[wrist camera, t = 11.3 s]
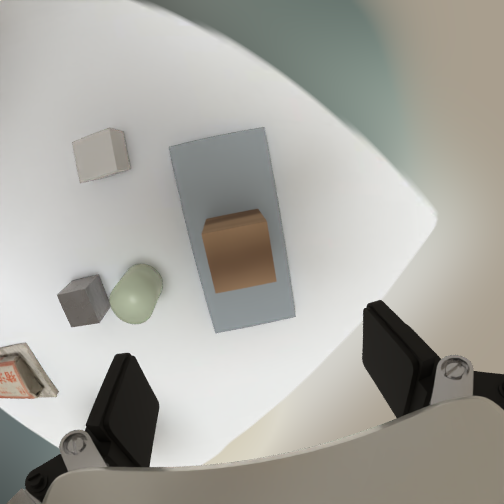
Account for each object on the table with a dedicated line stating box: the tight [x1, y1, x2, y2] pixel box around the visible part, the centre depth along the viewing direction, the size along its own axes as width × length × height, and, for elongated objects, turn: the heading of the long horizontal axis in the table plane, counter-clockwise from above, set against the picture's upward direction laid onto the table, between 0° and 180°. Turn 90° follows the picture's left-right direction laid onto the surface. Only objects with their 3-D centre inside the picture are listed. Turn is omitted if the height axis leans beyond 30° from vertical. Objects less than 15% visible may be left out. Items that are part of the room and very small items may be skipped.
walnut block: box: [202, 209, 277, 293], centre depth 26 cm, size 5×5×6 cm
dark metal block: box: [57, 274, 111, 327], centre depth 28 cm, size 4×4×4 cm
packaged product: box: [0, 343, 58, 399], centre depth 31 cm, size 18×5×10 cm
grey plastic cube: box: [72, 128, 131, 183], centre depth 24 cm, size 4×4×4 cm
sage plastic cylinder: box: [110, 264, 163, 324], centre depth 28 cm, size 4×4×5 cm
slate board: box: [169, 127, 296, 333], centre depth 29 cm, size 20×9×1 cm, turn 11°
